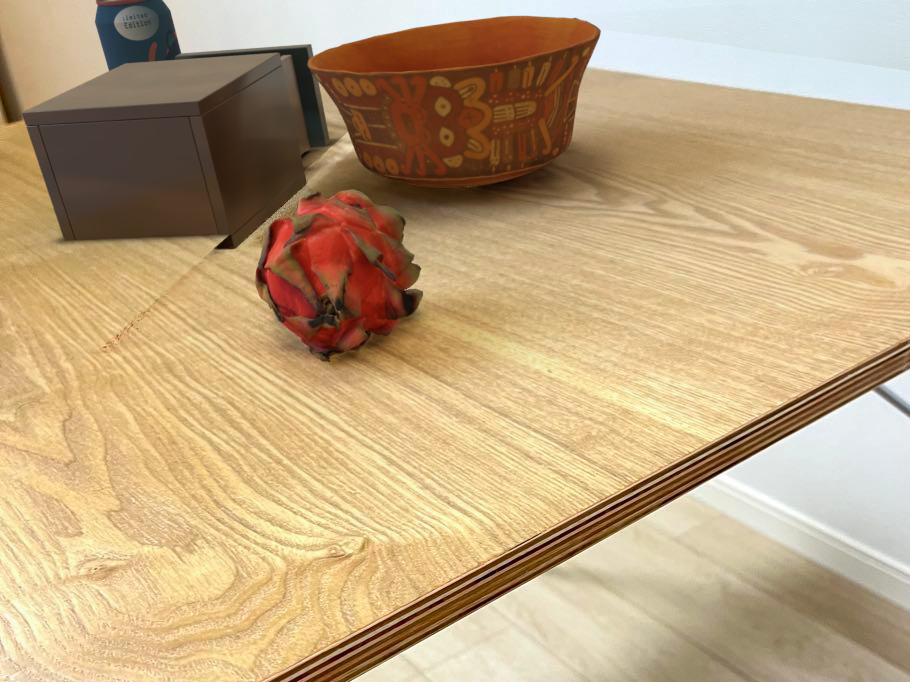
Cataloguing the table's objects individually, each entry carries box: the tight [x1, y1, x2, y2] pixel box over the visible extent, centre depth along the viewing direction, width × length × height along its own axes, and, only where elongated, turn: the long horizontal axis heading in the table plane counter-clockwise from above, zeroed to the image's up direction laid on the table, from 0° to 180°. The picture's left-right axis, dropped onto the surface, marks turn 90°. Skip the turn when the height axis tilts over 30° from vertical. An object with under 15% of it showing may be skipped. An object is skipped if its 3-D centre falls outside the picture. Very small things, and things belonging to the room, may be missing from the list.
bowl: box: [307, 15, 602, 189], centre depth 85 cm, size 21×21×10 cm
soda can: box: [94, 0, 182, 71], centre depth 109 cm, size 7×7×12 cm
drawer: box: [175, 43, 331, 156], centre depth 92 cm, size 18×12×8 cm, turn 170°
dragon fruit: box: [254, 189, 424, 363], centre depth 62 cm, size 8×8×12 cm
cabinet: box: [21, 53, 308, 250], centre depth 84 cm, size 15×13×10 cm
